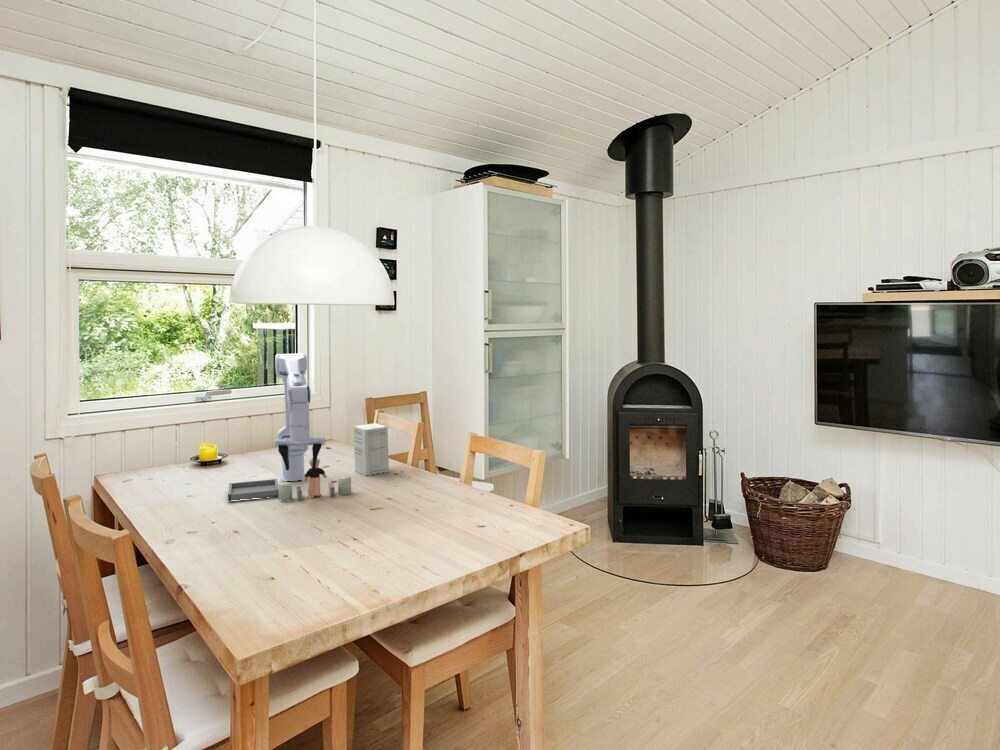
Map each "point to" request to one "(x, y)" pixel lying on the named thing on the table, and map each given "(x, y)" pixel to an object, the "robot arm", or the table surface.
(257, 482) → the tray
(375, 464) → the supplement box
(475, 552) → the table surface
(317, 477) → the grandmother figurine
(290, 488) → the pale green rounded block
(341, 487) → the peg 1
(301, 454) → the robot arm
